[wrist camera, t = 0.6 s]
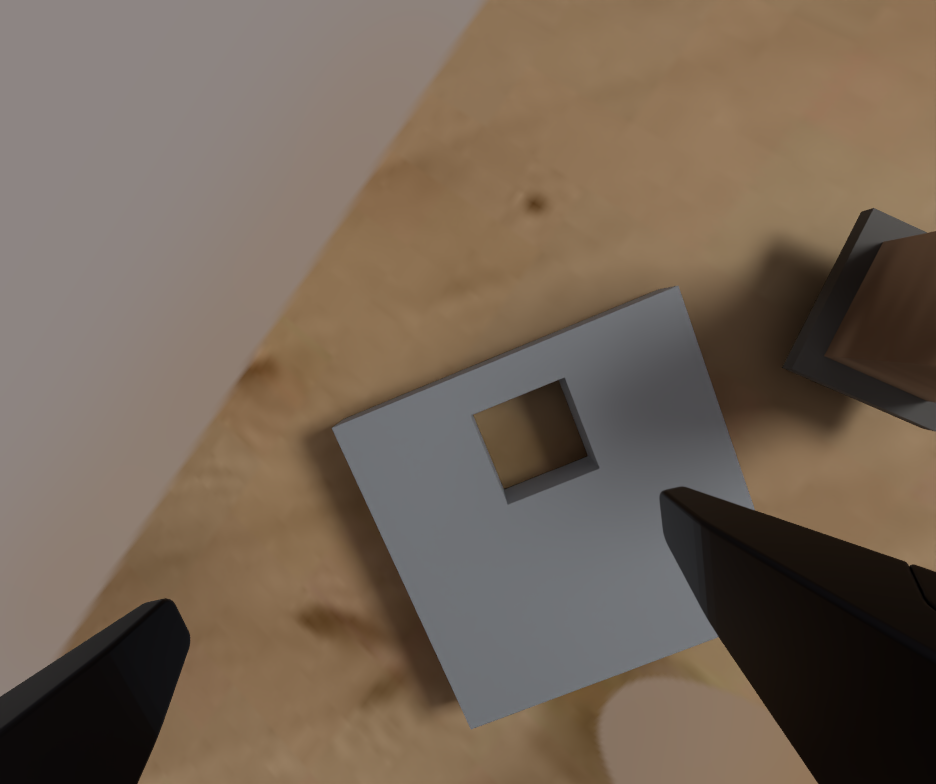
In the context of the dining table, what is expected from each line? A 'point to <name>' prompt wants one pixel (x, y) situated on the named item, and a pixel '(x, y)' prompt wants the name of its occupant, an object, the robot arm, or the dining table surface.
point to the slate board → (551, 508)
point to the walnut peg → (877, 321)
